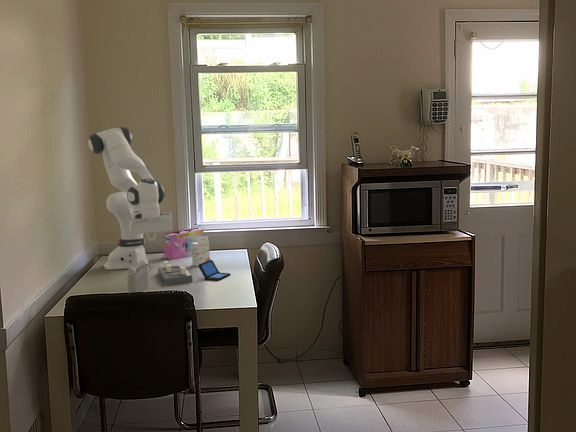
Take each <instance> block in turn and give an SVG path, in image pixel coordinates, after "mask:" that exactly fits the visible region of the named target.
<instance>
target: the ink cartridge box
mask: <svg viewBox="0 0 576 432" xmlns="http://www.w3.org/2000/svg"><path fill="white" fill-rule="evenodd" d="M202 238H203V239H204V240H201V239H202ZM191 252H192V255H191V262H192V266H196V267H199V266H198V265H199V264H201V263H204V262H206V261H209V260H211V256H210V240H209V236H208V235H204V236H203V237H199V238H197V242H194V243H191Z"/></svg>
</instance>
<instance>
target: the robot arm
mask: <svg viewBox="0 0 576 432" xmlns="http://www.w3.org/2000/svg"><path fill="white" fill-rule="evenodd" d="M87 143H88V144H87V145H88V147H89V149H90V151H91V152H92V153H93V154H94V155H95V154H96V155H101V154H102V160H103V164H104V168H105V172H106V174H107V176H108V179H109V181H110V184H111V186H114V188H117V189H118V190H120V191H119V192H118V191H117V192H114V193H112V194H109V195H108V196H107V198H106V201H105V204H106V208H107V210H108V211H109V212H110V213H112V214H113V215H114V216H115V217H116V219H117V221H118V224H119V226H120V236H121V238H117V239H116V241H115V242H116V243H117V247H116V248H114V250H112V251H111V252H110V253H109V255H108V259H107V262H106V263H104V265H103V268H104V270H108V271H109V270H110V271H111V270H123V269H130V268H131V267H134V265H136V264H137V263H139V262H140V261H141V260H143V261H144V262H145V264H148V265H149V260H148V258H147V254H146V249H145V247H146V241H145V237H144V234H145V235H146V237H147V238H148V243H155V242H156V238H157V236H158V233H170V232H173V229H174V227H173V214H172V212H169V211H167V212H161V211H160V205H159V204H161V203H162V202H163V200H164V198H165V196H166V192H165V191H166V190H165V188H164V187H163V186H162V184H161V183H160V182H159V181H158V180H157V178H156V177H155V176H154V174H153V173H152V172H153V171H151V169H150V168H149V166H148V165H147V163H146V162H145V161H144V160H143V159H142V158H141V157H139V156H138V155H137V154H136V153H135V152H134V150H133V149H132V148H131V145H132V143H133V135H132V133H131V131H130V129H129V128H128V127H125V126H119V127H116V128H114V127H113V128H109V129H105V130H103V131H102V130H101V131H100V132H97V133H93V134H90V135H89V137H88V141H87ZM131 172H134V173H136V174H137V175H139V176H140V177H141V180H140V181H139V182H137V181H136V180H135V179H134V176H133V175H132V173H131ZM150 234H153V235H154V236H153V237H150ZM145 264H144V265H143V266H146V265H145Z"/></svg>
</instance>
